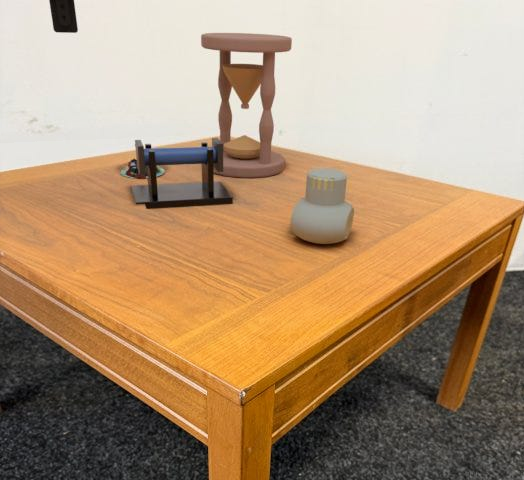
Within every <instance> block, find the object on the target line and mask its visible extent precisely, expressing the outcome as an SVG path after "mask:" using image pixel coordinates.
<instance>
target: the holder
mask: <svg viewBox="0 0 524 480" xmlns="http://www.w3.org/2000/svg"><path fill="white" fill-rule="evenodd" d="M200 147H208V142H206V141H202V142H200ZM144 149H152V144H151V143H144ZM148 155H149V166H147V177H148V178H147V184H141V185H140V184H139V185H130V190H131V192H132V193H131V194H132V196H133V199H134V202H135V205H144V206H145V209H146V210H147V209H148V210H150V209H165V208H166V209H167V208H182V207H183V208H184V207H198V206H199V207H200V206H201V207H202V206H215V205H216V206H217V205H233V203H234V197H233V196H232V194H231V193H230V192H229V191H228V189H227V188H226V187H225V186H224V184H223V183H222V182H221V181H215V178H214V177H215V173H214V165H213V149H212V148H210V149H207V164H201V182H184V183H183V182H182V183H181V182H180V183H164V184H162V183H161V184H158V176H156V166H157V165H156V162H155V151H154V150H149V151H148Z"/></svg>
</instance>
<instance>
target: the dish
mask: <svg viewBox="0 0 524 480" xmlns="http://www.w3.org/2000/svg"><path fill="white" fill-rule="evenodd" d="M127 163H128V164H127V168H124V169H121V171H120V175H122V177H127V178H130V179H138V180H139V179H140V180H141V179H148V177H147V166H145V170H146V175H140V174H139V171H138V168H137V159H136V158H133V159H130V161H128V162H127ZM157 166H158V165H156V177H159V176H162V175H163V174H165V173H166V171H165V169H164V168H162V167H160V168H158V167H157Z"/></svg>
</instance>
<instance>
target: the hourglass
mask: <svg viewBox="0 0 524 480" xmlns="http://www.w3.org/2000/svg"><path fill="white" fill-rule="evenodd" d="M292 43H293V39H292V37H290V36H287V35H278V34H266V33H250V32H249V33H245V32H207V33H202V34H201V35H200V44H201V47H202V48H203V49H207V50H212V51H218V52H219V68H218V69H219V70H218V77H217V87H218V91H219V95H220V99H221V101H220V105H219V110H218V114H217V115H218V117H217V118H218V127H219V140H220V141H221V142H222V143H223V172H218V171H217V170H216V169H215V168H214V175H215V174H216V175H218V176H219V175H220V176H223V177H231V178H240V179H241V178H242V179H243V178H245V179H255V178H267V177H272V176H276V175H278V174H281V173H282V172H284V169H285V166H286V158H285V157H284V156H283V155H282V154H280V153H278V152H276V151H274V150H273V151H272V141H273V137H274V129H275V123H274V118H273V113H272V107H273V104H274V101H275V96H276V80H275V79H276V77H275V68H276V67H275V66H276V65H275V64H276V53H287V52H290V51H291V50H292ZM232 52H233V53H253V54H255V53H256V54H257V53H259V54H260V53H261V54H262V64H255V63H254V64H253V63H232ZM232 89H233V90H234V92H235V93H236V95H237V97H238V99H239V101H240V102H241V104H240V109H242V110H248V109H250V104H249V103H250V102H251V100H252V98H253V97H254V95H255V94H256V92H257V91H258V89H259V95H260V100H261V105H262V106H261V107H262V112H261V116H260V120H259V125H258V134H259V140H256V139H254V138H252V137H249V135H248V136H247V134H246V135H245V134H243V135H241V136H239V137H237V138H234V139H232V140H231V133H232V132H231V131H232V124H233V114H232V109H231V104H230V97H231V95H232Z"/></svg>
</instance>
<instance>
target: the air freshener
mask: <svg viewBox="0 0 524 480" xmlns="http://www.w3.org/2000/svg"><path fill="white" fill-rule="evenodd" d="M347 181H348V175H347V174H346V173H345V172H344V171H343V170H340V169H336V168H327V167H326V168H325V167H319V168H313V169H310V170H309V171H308V172H307V173H306V182H305V195H304V197H303V198H301V199H299V200H298V201H297V202H296V204H295V205H294V207H293V210H292V213H291V217H290V230H291V232H292V233H293V234H294V235H295V236H296V237H298V238H300V239H302V240H303V241H306V242H309V243H311V244H317V245H333V244H337V243H341V242H343V241H345V240H347V239H348V237H349V235H350V233H351V230H352V226H353V222H354V218H355V217H354V216H355V207H354V206H353V205H351V203H349V202H348V201H347V200H345V199H346V193H347Z"/></svg>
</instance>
